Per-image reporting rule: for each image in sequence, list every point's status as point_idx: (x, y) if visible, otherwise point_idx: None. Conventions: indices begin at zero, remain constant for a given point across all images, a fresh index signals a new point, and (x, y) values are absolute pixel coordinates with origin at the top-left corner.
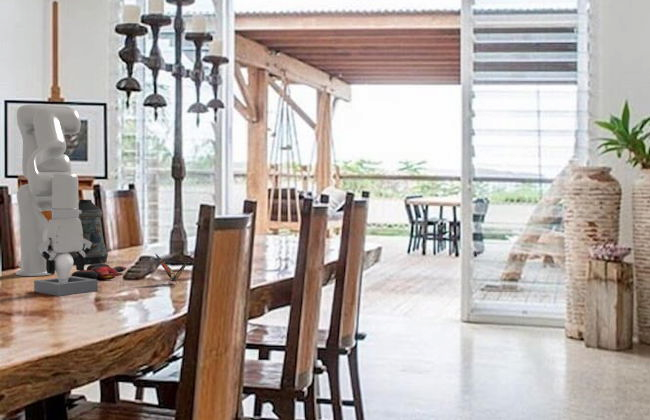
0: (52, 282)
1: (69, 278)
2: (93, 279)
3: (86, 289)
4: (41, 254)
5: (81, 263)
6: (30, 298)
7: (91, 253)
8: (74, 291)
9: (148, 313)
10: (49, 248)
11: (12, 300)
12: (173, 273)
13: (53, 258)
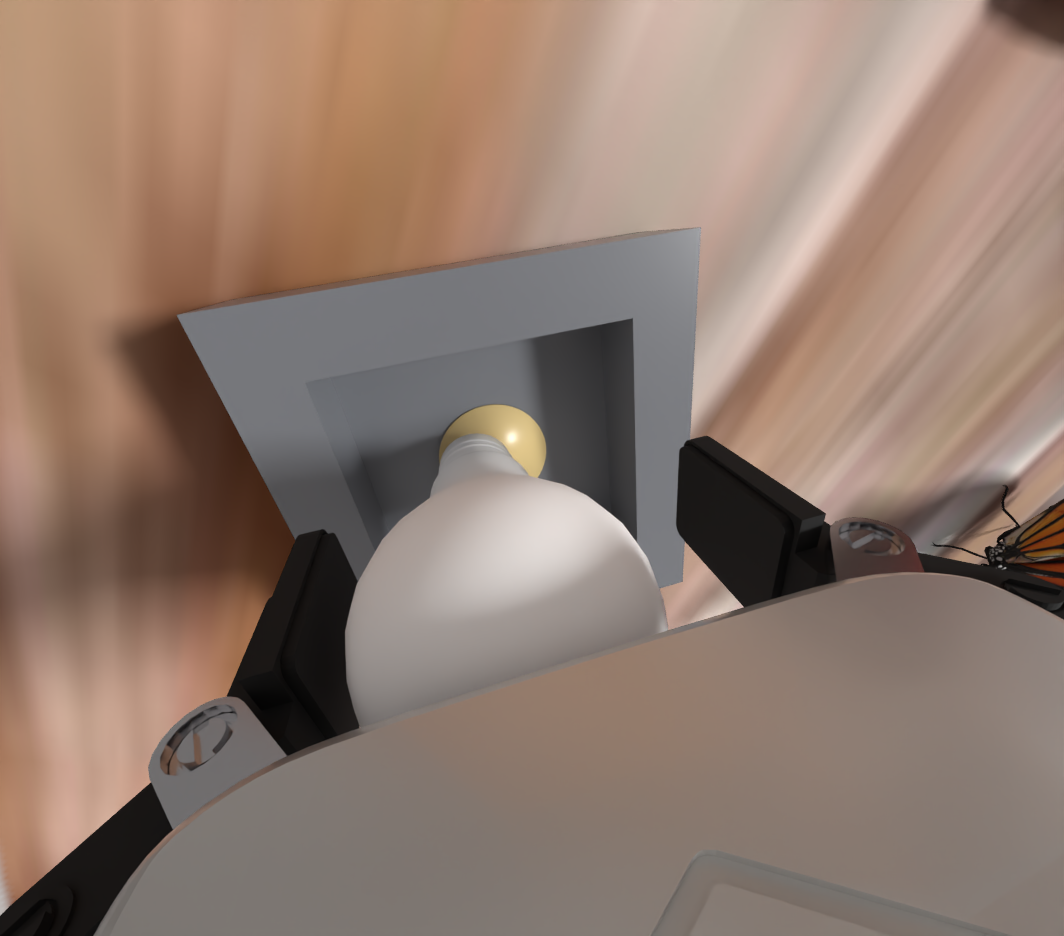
0: (353, 564)
1: (612, 321)
2: (679, 549)
3: None
4: (20, 929)
5: (719, 578)
6: (167, 621)
7: None
8: None
9: None
10: (234, 873)
11: (12, 649)
12: None
13: (357, 715)
